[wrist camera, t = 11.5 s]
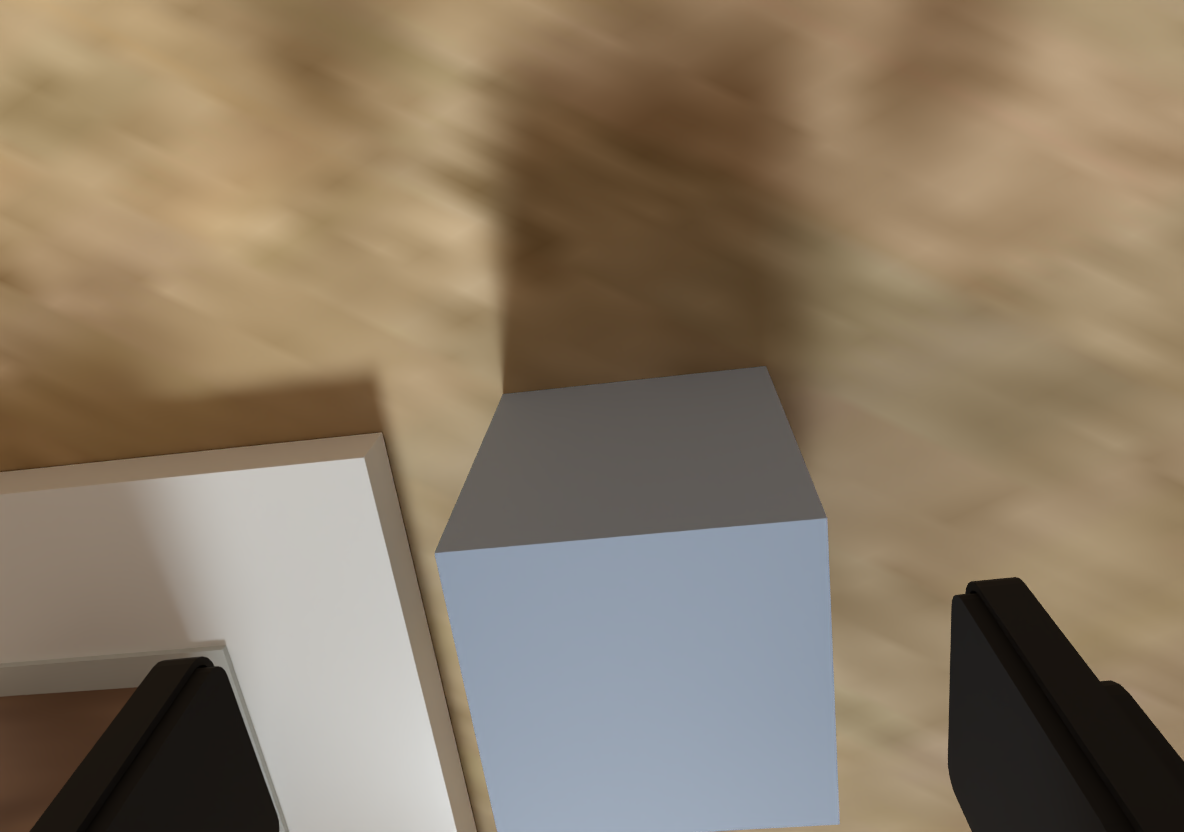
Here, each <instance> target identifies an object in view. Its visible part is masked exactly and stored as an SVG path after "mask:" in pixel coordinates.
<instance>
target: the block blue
mask: <svg viewBox="0 0 1184 832" xmlns="http://www.w3.org/2000/svg"><path fill="white" fill-rule="evenodd" d="M435 558H436V562H437V567H438V571H439V575H440V580H441V584H442V589H443V593H444V598H445V602H446V607H447V611H448V615H449V620H450V624H451V629H452V633H453V638H454V642H455V646H456V651H457V655H458V660H459V664H460V669H461V673H462V678H463V682H464V686H465V691H466V695H467V700H468V704H469V709H470V713H471V717H472V722H473V726H474V731H475V735H476V740H477V744H478V749H479V753H480V757H481V762H482V766H483V771H484V775H485V780H486V784H487V788H488V793H489V797H490V802H491V806H492V811H493V815H494V820H495V824H496V828H497V832H709V831H727V830H745V829H763V828H782V827H800V826H818V825H836V824H840V822H839V797H838V772H837V748H836V723H835V698H834V674H833V649H832V625H831V600H830V575H829V551H828V526H827V516H826V514H825V511H824V509H823V507H822V504H821V502H820V499H819V497H818V494H817V492H816V489H815V487H814V484H813V482H812V479H811V477H810V474H809V472H808V469H807V467H806V464H805V462H804V459H803V457H802V454H801V452H800V449H799V447H798V444H797V442H796V439H795V437H794V435H793V432H792V430H791V427H790V425H789V422H788V420H787V417H786V415H785V412H784V410H783V407H782V405H781V402H780V400H779V397H778V395H777V392H776V390H775V387H774V385H773V382H772V380H771V377H770V375H769V372H768V370H767V367H766V366H761V367H752V368H743V369H733V370H724V371H715V372H705V373H696V374H687V375H677V376H668V377H658V378H649V379H640V380H630V381H621V382H612V383H602V384H593V385H584V386H574V387H565V388H556V389H546V390H537V391H527V392H518V393H509V394H503V395H502V398H501V400H500V402H499V405H498V407H497V409H496V411H495V414H494V416H493V418H492V421H491V423H490V425H489V428H488V430H487V432H486V435H485V437H484V439H483V442H482V444H481V446H480V449H479V451H478V453H477V456H476V458H475V460H474V463H473V465H472V467H471V470H470V472H469V474H468V476H467V479H466V481H465V483H464V486H463V488H462V490H461V493H460V495H459V497H458V500H457V502H456V504H455V507H454V509H453V511H452V514H451V516H450V518H449V521H448V523H447V525H446V528H445V530H444V532H443V535H442V537H441V539H440V541H439V544H438V546H437V548H436V551H435Z"/></svg>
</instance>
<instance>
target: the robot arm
mask: <svg viewBox="0 0 1184 832" xmlns="http://www.w3.org/2000/svg"><path fill="white" fill-rule="evenodd" d="M948 769H949V775H950V780H951V784H952V787H953V790H954V793H955V795H956V798H957V800H958V802H959V804H960V806H961V809H962V811H963V813H964V815H965V817H966V820H967V822H968V824H969V826H970V828H971V831H972V832H1184V761H1183V760H1182V759H1181V758H1180V756H1179V755H1178V754H1177V753H1176V751H1175V750H1174V749H1173V748H1172V746H1171V745H1170V744H1169V743H1168V741H1167V740H1166V739H1165V738H1164V736H1163V735H1162V734H1161V733H1160V731H1159V730H1158V729H1157V728H1156V726H1155V725H1154V724H1153V723H1152V721H1151V720H1150V719H1149V718H1148V716H1147V715H1146V714H1145V713H1144V711H1143V710H1142V709H1141V707H1140V706H1139V705H1138V704H1137V702H1136V701H1135V700H1134V699H1133V697H1132V696H1131V695H1130V694H1129V693H1128V692H1127V691H1126V690H1125V689H1124V688H1123V687H1122V686H1121V685H1120V684H1118V683H1116V682H1113V681H1099V680H1098V678H1097V677H1096V676H1095V674H1094V673H1093V672H1092V671H1091V669H1090V668H1089V667H1088V665H1087V664H1086V663H1085V661H1084V660H1083V659H1082V657H1081V656H1080V655H1079V654H1078V652H1077V651H1076V650H1075V648H1074V647H1073V646H1072V644H1071V643H1070V642H1069V641H1068V639H1067V638H1066V637H1065V635H1064V634H1063V633H1062V631H1061V630H1060V629H1059V628H1058V626H1057V625H1056V624H1055V622H1054V621H1053V620H1052V618H1051V617H1050V616H1049V614H1048V613H1047V612H1046V611H1045V609H1044V608H1043V607H1042V605H1041V604H1040V603H1039V601H1038V600H1037V599H1036V598H1035V596H1034V595H1033V594H1032V592H1031V591H1030V590H1029V588H1028V587H1027V586H1026V584H1025V583H1024V582H1023V581H1022V580H1021V579H1020V578H1016V577H1013V578H1003V579H992V580H982V581H972V582H970V583H968V585H967V588H966V594H962V595H955V596H954V597H953V600H952V611H951V653H950V694H949V736H948ZM279 829H280V828H279V819H278V815H277V813H276V810H275V807H274V804H273V801H272V799H271V796H270V793H269V790H268V787H267V785H266V782H265V779H264V776H263V773H262V771H261V768H260V765H259V762H258V759H257V757H256V754H255V751H254V748H253V745H252V743H251V740H250V737H249V734H248V731H247V729H246V726H245V723H244V720H243V717H242V714H241V712H240V709H239V706H238V703H237V700H236V698H235V695H234V692H233V689H232V686H231V684H230V681H229V678H228V675H227V673H226V671H225V670H224V669H223V668H222V667H219V666H214V664H213V662H212V661H211V660H210V659H209V658H207V657H203V656H200V657H190V658H180V659H170V660H163V661H160V662H158V663H157V664H156V665H155V666H154V667H153V668H152V669H151V670H150V672H149V673H148V674H147V676H146V677H145V678H144V680H143V681H142V682H141V684H140V685H139V686H138V688H137V689H136V690H135V692H134V693H133V694H132V696H131V697H130V698H129V700H128V701H127V702H126V704H125V705H124V706H123V708H122V709H121V710H120V712H119V713H118V714H117V716H116V717H115V718H114V720H113V721H112V722H111V724H110V725H109V726H108V728H107V729H106V730H105V732H104V733H103V734H102V736H101V737H100V738H99V740H98V741H97V742H96V744H95V745H94V746H93V748H92V749H91V750H90V752H89V753H88V754H87V756H86V757H85V758H84V759H83V761H82V762H81V763H80V765H79V766H78V767H77V769H76V770H75V771H74V773H73V774H72V775H71V777H70V778H69V779H68V781H67V782H66V783H65V785H64V786H63V787H62V789H61V790H60V791H59V793H58V794H57V795H56V797H55V798H54V799H53V801H52V802H51V803H50V805H49V806H48V807H47V809H46V810H45V811H44V813H43V814H42V815H41V817H40V818H39V819H38V821H37V822H36V823H35V825H34V826H33V827H32V829H31V830H30V831H29V832H279Z"/></svg>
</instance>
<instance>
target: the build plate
mask: <svg viewBox="0 0 1184 832" xmlns="http://www.w3.org/2000/svg"><path fill="white" fill-rule="evenodd" d="M200 656H203V657H207V658H209V659H210V660H211V661H212V662H213V664H214V666H219V667H222V668H223V669H224V670H225V671H226V673H227V675H228V678H229V681H230V684H231V686H232V689H233V692H234V695H235V698H236V700H237V703H238V706H239V709H240V712H241V714H242V717H243V720H244V723H245V726H246V729H247V731H248V734H249V737H250V740H251V743H252V745H253V748H254V751H255V754H256V757H257V759H258V762H259V765H260V768H261V771H262V773H263V776H264V779H265V782H266V785H267V787H268V790H269V793H270V796H271V799H272V801H273V804H274V807H275V810H276V813H277V815H278V819H279V828H280V829H279V832H477V830H476V826H475V822H474V817H473V813H472V809H471V805H470V801H469V796H468V792H467V788H466V784H465V779H464V775H463V771H462V767H461V763H460V758H459V754H458V750H457V746H456V742H455V737H454V733H453V729H452V725H451V721H450V716H449V712H448V708H447V704H446V699H445V695H444V691H443V687H442V683H441V678H440V674H439V670H438V666H437V662H436V657H435V653H434V649H433V645H432V640H431V636H430V632H429V628H428V624H427V619H426V615H425V611H424V607H423V603H422V598H421V594H420V590H419V586H418V582H417V577H416V573H415V569H414V565H413V560H412V556H411V552H410V548H409V544H408V539H407V535H406V531H405V527H404V523H403V518H402V514H401V510H400V506H399V502H398V497H397V493H396V489H395V485H394V480H393V476H392V472H391V468H390V464H389V459H388V455H387V451H386V447H385V443H384V438H383V434H382V432H380V433H370V434H361V435H351V436H342V437H332V438H323V439H313V440H304V441H294V442H284V443H275V444H265V445H256V446H246V447H237V448H227V449H218V450H208V451H198V452H189V453H179V454H170V455H160V456H151V457H141V458H132V459H122V460H112V461H103V462H93V463H84V464H74V465H65V466H55V467H46V468H36V469H26V470H17V471H7V472H0V697H2V696H17V695H31V694H46V693H60V692H75V691H90V690H104V689H119V688H133V687H138V686H139V685H140V684H141V682H142V681H143V680H144V678H145V677H146V676H147V674H148V673H149V672H150V670H151V669H152V668H153V667H154V666H155V665H156V664H157V663H158V662H160V661H163V660H170V659H180V658H190V657H200Z"/></svg>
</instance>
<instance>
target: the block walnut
mask: <svg viewBox="0 0 1184 832" xmlns="http://www.w3.org/2000/svg"><path fill="white" fill-rule="evenodd" d="M137 688H138V687H133V688H119V689H104V690H90V691H75V692H60V693H46V694H31V695H17V696H2V697H0V832H29V831H30V830H31V829H32V827H33V826H34V825H35V823H36V822H37V821H38V819H39V818H40V817H41V815H42V814H43V813H44V811H45V810H46V809H47V807H48V806H49V805H50V803H51V802H52V801H53V799H54V798H55V797H56V795H57V794H58V793H59V791H60V790H61V789H62V787H63V786H64V785H65V783H66V782H67V781H68V779H69V778H70V777H71V775H72V774H73V773H74V771H75V770H76V769H77V767H78V766H79V765H80V763H81V762H82V761H83V759H84V758H85V757H86V756H87V754H88V753H89V752H90V750H91V749H92V748H93V746H94V745H95V744H96V742H97V741H98V740H99V738H100V737H101V736H102V734H103V733H104V732H105V730H106V729H107V728H108V726H109V725H110V724H111V722H112V721H113V720H114V718H115V717H116V716H117V714H118V713H119V712H120V710H121V709H122V708H123V706H124V705H125V704H126V702H127V701H128V700H129V698H130V697H131V696H132V694H133V693H134V692H135V690H136V689H137Z"/></svg>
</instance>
